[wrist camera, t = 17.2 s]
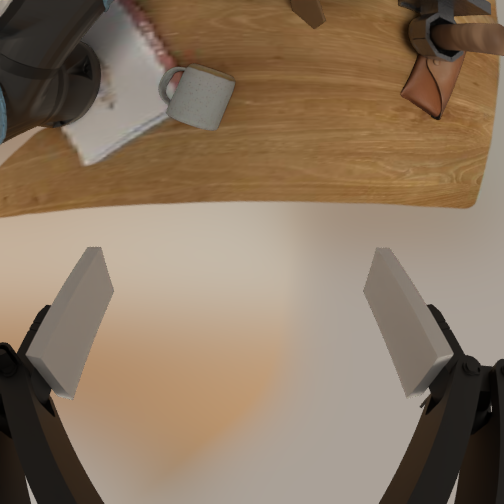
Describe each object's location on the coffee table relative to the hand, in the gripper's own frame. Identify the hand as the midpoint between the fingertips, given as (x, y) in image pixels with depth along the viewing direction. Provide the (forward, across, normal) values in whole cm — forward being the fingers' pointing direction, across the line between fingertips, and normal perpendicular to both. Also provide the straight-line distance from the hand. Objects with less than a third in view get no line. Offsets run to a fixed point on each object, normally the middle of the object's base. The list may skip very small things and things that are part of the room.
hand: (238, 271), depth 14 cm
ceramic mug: (+35, -6, +6) cm, 36 cm away
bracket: (+35, +28, +22) cm, 50 cm away
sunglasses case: (+35, +32, +15) cm, 50 cm away
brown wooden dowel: (+31, +28, +19) cm, 46 cm away
